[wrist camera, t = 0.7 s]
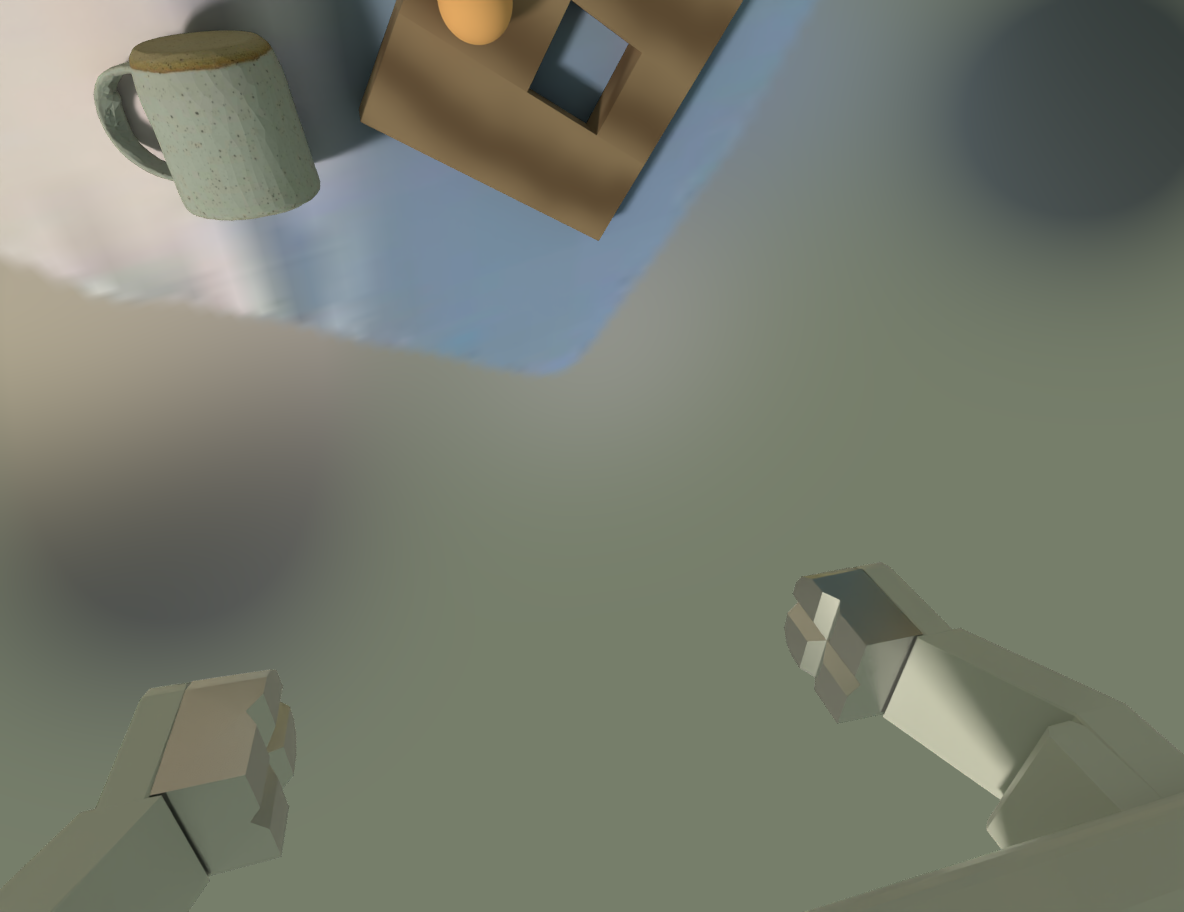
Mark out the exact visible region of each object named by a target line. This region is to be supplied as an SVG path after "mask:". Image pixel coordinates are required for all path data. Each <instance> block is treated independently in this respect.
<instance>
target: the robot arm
mask: <svg viewBox="0 0 1184 912" xmlns="http://www.w3.org/2000/svg"><path fill="white" fill-rule="evenodd" d="M793 595H794V597H795V598H796V600H797V601H798V603H797V604H796V605H795V606H794V607H793V608H792V609H791V610H790V611H789V612H788V613H787V618H786V622H785V627H784V629H785V635H786V642H787V646H788V648H789V650H790V653H791V655H792V657H793V659H794V660H795V662H796V663H797V665H798V666H799V668H801V669H802V670H804V671H806V672H807V673H809V674H811V675H813V676H814V677H815V687H814V689H815V691H816V693H817V694H818V696H819V697H820V699H821V700H822V702H823V703H824V705H825V706H826V708H827V709H828V710H829V712H830V714H831V715H832V716H833V718H834V719H835V721H836V722H837V724H838V723H843V722H848V721H853V720H858V719H862V718H867V717H872V716H877V715H882V714H884V716H883V717H884V718H885V719H887V720H888V721H890V722H891V723H892V724H894V725H896V726H897V727H898V728H900V729H901V730H902V731H904V732H905V733H907V734H908V735H910V736H911V737H912V738H914V739H915V740H917V741H918V742H919V743H921V744H922V745H924V746H925V747H926V748H928V749H929V750H931V751H932V752H934V753H935V754H936V755H938V756H939V757H941V758H942V759H943V760H945V761H946V762H948V763H949V764H951V765H952V766H953V767H955V768H956V769H958V770H959V771H960V772H962V773H963V774H965V775H967V776H968V777H969V778H970V779H972V780H973V781H975V782H976V783H977V784H979V785H980V786H982V787H983V788H985V789H986V790H987V791H989V792H990V793H992V794H993V795H995V796H996V797H998V798H999V799H1000V801H999V803H998V804H997V806H996V807H995V809H994V810H993V812H992V813H991V815H990V817H989V818H988V820H987V828H986V830H987V831H988V832H989V834H990V835H991V836H992V838H993V839H994V840H995V842H996V843H997V844H998V845H999V847H1000V848H1001V849H1000V850H997V851H994V852H991V853H988V854H985V855H981V856H978V857H975V858H972V859H969V860H966V861H963V862H959V863H956V864H953V865H950V866H947V867H944V868H941V869H937V870H934V871H931V872H928V873H925V874H922V875H918V876H915V877H912V878H909V879H906V880H902V881H899V882H896V883H893V884H890V885H887V886H883V887H880V888H877V889H874V890H871V891H868V892H864V893H861V894H858V895H855V896H852V897H849V898H845V899H843V900H839V901H836V902H833V903H830V904H827V905H823V906H821V907H817V908H814V909H811V910H808V911H804V912H1184V754H1183V753H1181V752H1180V751H1179V750H1178V749H1177V748H1176V747H1175V746H1174V745H1172V744H1171V743H1170V742H1169V741H1168V740H1167V739H1165V738H1164V737H1163V736H1162V735H1161V734H1160V733H1159V732H1157V731H1156V730H1155V729H1154V728H1153V727H1152V726H1151V725H1149V724H1148V723H1147V722H1146V721H1145V720H1144V719H1142V718H1141V717H1140V716H1139V715H1138V714H1137V713H1136V712H1134V711H1133V710H1132V709H1131V708H1130V707H1129V706H1128V705H1126V704H1125V703H1123V702H1121V701H1118V700H1116V699H1114V698H1112V697H1110V696H1107V695H1105V694H1103V693H1101V692H1099V691H1096V690H1094V689H1092V688H1090V687H1088V686H1086V685H1083V684H1081V683H1079V682H1077V681H1075V680H1073V679H1070V678H1068V677H1066V676H1064V675H1062V674H1060V673H1057V672H1055V671H1053V670H1051V669H1049V668H1047V667H1044V666H1042V665H1040V664H1038V663H1036V662H1034V661H1031V660H1029V659H1027V658H1025V657H1023V656H1021V655H1018V654H1016V653H1014V652H1012V651H1010V650H1007V649H1005V648H1003V647H1001V646H999V645H996V644H994V643H992V642H990V641H988V640H986V639H984V638H981V637H979V636H977V635H975V634H973V633H970V632H968V631H966V630H964V629H962V628H957V629H952V628H951V627H950V626H949V625H948V624H947V623H946V622H945V621H944V620H943V619H942V618H941V617H940V616H939V615H938V614H937V613H936V612H935V611H934V610H933V609H932V608H931V607H930V606H929V605H928V604H927V603H926V602H925V601H924V600H923V599H922V598H920V596H919V595H918V594H917V593H916V592H915V591H914V590H913V589H912V588H911V587H910V586H909V585H908V584H907V583H906V582H905V581H904V580H903V579H902V578H901V577H900V576H899V575H898V574H897V573H896V572H895V571H894V570H893V569H891V567H889V566H888V565H886V564H884V563H882V562H879V563H874V564H868V565H862V566H856V567H853V568H844V569H839V570H834V571H828V572H823V573H818V574H812V575H807V576H802V577H801V578H800V579H799V580H798V581H797V582H796V584H795V588H794V591H793ZM282 688H283V685H282V683H281V680H280V677H279V675H278V673H277V670H272V669H270V670H263V671H257V672H250V673H243V674H237V675H230V676H223V677H217V678H210V679H203V680H197V681H192V682H188V683H181V684H174V685H168V686H162V687H155V688H150V689H149V690H148V691H147V692H146V694H145V695H144V696H143V697H142V698H141V699H140V701H139V703H138V706H137V708H136V710H135V713H134V715H133V718H132V720H131V723H130V725H129V727H128V730H127V732H126V735H125V737H124V740H123V742H122V744H121V747H120V749H119V752H118V754H117V757H116V759H115V761H114V764H113V766H112V769H111V771H110V774H109V776H108V779H107V781H106V784H105V786H104V788H103V791H102V793H101V795H100V798H99V800H98V803H97V805H96V807H95V809H92V810H88V811H83V812H81V813H79V814H78V815H77V816H76V817H75V818H74V819H73V820H72V821H71V822H70V823H69V824H68V825H67V826H66V827H65V828H64V829H63V830H61V831H60V833H58V834H57V835H56V836H55V837H54V838H53V839H52V840H51V841H50V842H49V843H48V844H47V845H46V846H45V847H44V848H43V849H42V850H41V851H40V852H38V853H37V854H36V855H35V856H34V857H33V858H32V859H31V860H30V861H29V862H28V863H27V864H26V865H25V866H24V867H23V868H22V869H21V870H20V871H18V872H17V873H16V874H15V875H14V877H12V878H11V879H10V880H9V881H8V882H7V883H6V884H5V885H4V886H3V887H2V888H1V889H0V912H189V910H190V909H191V907H192V906H193V904H194V903H195V902H196V900H197V899H198V897H199V896H200V894H201V893H202V891H203V890H204V888H205V887H206V886H207V884H208V883H209V881H210V879H209V877H208V876H212V875H216V874H219V873H223V872H227V871H231V870H234V869H238V868H242V867H245V866H249V865H253V864H257V863H260V862H264V861H268V860H272V859H275V858H279V857H282V850H283V843H284V837H285V830H286V824H287V817H288V810H289V805H288V803H287V800H286V797H285V795H284V793H283V788H284V787H285V786H286V784H287V783H288V782H289V780H290V779H291V778H292V777H293V776H294V769H295V761H296V729H295V723H294V718H293V715H292V712H291V708H290V707H289V706H288V705H286V704H284V703H282V702H280V699H281V693H282Z"/></svg>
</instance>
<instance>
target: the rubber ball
mask: <svg viewBox="0 0 1184 912" xmlns="http://www.w3.org/2000/svg"><path fill="white" fill-rule="evenodd" d="M437 1H438V7H439V10H440V13H441V16H442V18H443V20H444V22H445V24H446V26H447V27H448V28H449V30H450V31H451V32H452V33H453V34H454V35H455V36H456V37H458V38H459V39H460V40H462V41H464V42H466V43H469V44H473V45H485V44H489V43H491V42H493V41H495V40H497V39H498V38H499V37H500V36H501V35H502V34H503V33H504V31H505V30H506V28H507V27H508V25H509V22H510V19H511V15H512V9H513V0H437Z"/></svg>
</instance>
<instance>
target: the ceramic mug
mask: <svg viewBox="0 0 1184 912" xmlns="http://www.w3.org/2000/svg"><path fill="white" fill-rule="evenodd" d="M128 73H129V74H132V77H133V81H134V84H135V88H136V91H137V94H138V96H139V99H140V101H141V104H142V106H143V109H144V111H145V113H146V115H147V117H148V119H149V121H150V123H151V125H152V127H153V130H154V132H155V135H156V137H157V140H158V142H159V145H160V147H161V150H162V153H163V155H164V158H165V160H166V162H165V161H163V160H161V159H159V158H158V157H156V156H155V155H153V154H152V153H150V152H149V151H148V150H147V149H146V148H144V147H143V146H142V145H141V144H140V143H139V141H138V139H137V138H136V137H135V136H134V135H133V132H132V131H131V128H130V126H129V123H128V121H127V118H126V115H125V113H124V110H123V107H122V99H121V97H120V95H119V93H118V92H117V85H118V82H119V80H120V79H121V77H122V76H123V74H128ZM94 101H95V105H96V110H97V114H98V116H99V119H100V121H101V123H102V126H103V128H104V130H105V132H106V133H107V135H108V137H109V138H110V140H111V141H112V142H113V144H114V145H115V146H116V147H117V149H118V150H119V151H120V152H121V153H122V154H123V155H124V156H125V157H126V158H128V159H129V160H130V161H131V162H133V163H134V164H135V165H137V166H138V167H140V168H142V169H143V170H145V171H147V172H149V173H151V174H153V175H156V176H158V177H161V178H164V179H168V180H171V181H174V182H175V185H176V187H177V190H178V193H179V195H180V197H181V199H182V202H183V203H184V205H185V207H186V209H187V210H188V211H189V212H191V213H192V214H194V215H196V216H199V217H203V218H206V219H215V220H231V221H233V220H246V219H254V218H260V217H265V216H270V215H275V214H279V213H283V212H287V211H290V210H292V209H295V208H297V207H299V206H301V205H302V204H304V203H306V202H308V201H310V200H311V199H312V198H313V197H314V196H315V195H316V194H317V193H318V191H319V190H320V180H319V176H318V173H317V170H316V168H315V165H314V162H313V159H312V156H311V153H310V150H309V147H308V144H307V141H306V138H305V135H304V131H303V128H302V125H301V123H300V120H299V118H298V115H297V112H296V109H295V105H294V102H293V99H292V96H291V93H290V90H289V87H288V84H287V81H286V77H285V74H284V72H283V70H282V67H281V65H280V63H279V61H278V59H277V57H276V55H275V53H274V51H273V49H272V48H271V46H270V45H269V43H268V42H267V41H266V40H264V39H263V38H262V37H260V36H259V35H257V34H255V33H252V32H245V31H203V32H193V33H184V34H177V35H170V36H165V37H159V38H155V39H151V40H148V41H145V42H142V43H140V44H138V45H137V46H135V47H134V48H133V49H132V52H131V54H130V57H129V62H126V63H122V64H120V65H117V66H114V67H111V68H109V69H108V70H106V71H105V72H103V73H102V74H101V75H100V76H99V77H98V79H97V82H96V84H95V89H94Z"/></svg>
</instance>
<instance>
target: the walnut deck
mask: <svg viewBox="0 0 1184 912" xmlns="http://www.w3.org/2000/svg"><path fill="white" fill-rule="evenodd" d="M570 1H573V2H574V3H575V4H577V5H578V6H579V7H581V8H582V9H583V10H585V11H586V12H587V13H589V14H590V15H591V16H593V17H594V18H595V19H597V20H598V21H599V22H601V23H602V24H603V25H605V26H606V27H607V28H609V29H610V30H611V31H613V32H614V33H615V34H617V35H618V36H619V37H621V38H622V39H623V40H625V41H626V42H627V43H629V44H628V46H627V48H626V50H625V52H624V54H623V56H622V58H621V59H620V61H619V63H618V65H617V67H616V69H615V71H614V73H613V74H612V76H611V78H610V80H609V82H608V84H607V86H606V88H605V89H604V91H603V93H602V95H601V97H600V99H599V101H598V103H597V104H596V106H595V108H594V110H593V112H592V114H591V116H590V118H589V119H588V121H587V123H584V122H583V121H581V120H580V119H578V118H576V117H575V116H573V115H572V114H570V113H568V112H567V111H565V110H564V109H562V108H560V107H559V106H557V105H556V104H554V103H552V102H551V101H549V100H548V99H546V98H544V97H543V96H541V95H539V94H538V93H536V92H535V91H533V90H531V89H530V88H529V87H530V85H531V83H532V81H533V79H534V77H535V74H536V72H537V70H538V68H539V66H540V64H541V62H542V60H543V58H544V55H545V53H546V51H547V49H548V47H549V45H550V43H551V41H552V39H553V36H554V34H555V32H556V30H557V28H558V26H559V24H560V22H561V20H562V17H563V15H564V13H565V11H566V9H567V7H568V5H569V3H570ZM742 1H743V0H513V9H512V15H511V19H510V22H509V25H508V27H507V28H506V30H505V31H504V33H503V34H502V35H501V36H500V37H499V38H498V39H497V40H495V41H493V42H491V43H489V44H485V45H473V44H469V43H466V42H464V41H462V40H460V39H459V38H458V37H456V36H455V35H454V34H453V33H452V32H451V31H450V30H449V28H448V27H447V26H446V24H445V22H444V20H443V18H442V16H441V13H440V10H439V7H438V1H437V0H396V3H395V6H394V9H393V12H392V15H391V18H390V21H389V23H388V26H387V29H386V32H385V35H384V38H383V41H382V44H381V47H380V49H379V52H378V55H377V58H376V61H375V64H374V67H373V70H372V73H371V75H370V78H369V81H368V84H367V87H366V90H365V93H364V96H363V99H362V102H361V104H360V107H359V114H360V121H361V122H362V123H364V124H366V125H368V126H370V127H372V128H374V129H376V130H378V131H380V132H382V133H384V134H386V135H388V136H390V137H392V138H394V139H396V140H398V141H400V142H402V143H404V144H406V145H408V146H410V147H412V148H414V149H416V150H418V151H420V152H422V153H424V154H426V155H428V156H430V157H432V158H434V159H436V160H438V161H440V162H442V163H444V164H446V165H448V166H450V167H452V168H454V169H456V170H458V171H460V172H462V173H464V174H466V175H468V176H470V177H472V178H474V179H476V180H478V181H480V182H482V183H484V184H486V185H488V186H490V187H492V188H494V189H496V190H498V191H500V192H502V193H504V194H506V195H508V196H510V197H512V198H514V199H516V200H518V201H520V202H522V203H524V204H526V205H528V206H530V207H532V208H534V209H536V210H538V211H540V212H542V213H544V214H546V215H548V216H550V217H552V218H554V219H556V220H558V221H560V222H562V223H564V224H566V225H568V226H570V227H572V228H574V229H576V230H578V231H580V232H582V233H584V234H586V235H588V236H590V237H592V238H594V239H596V240H598V241H599V239H600V238H601V236H602V234H603V233H604V231H605V229H606V228H607V226H608V224H609V223H610V221H611V219H612V218H613V216H614V214H615V213H616V211H617V209H618V208H619V206H620V204H621V203H622V201H623V199H624V198H625V196H626V194H627V193H628V191H629V189H630V188H631V186H632V184H633V183H634V181H635V179H636V178H637V176H638V174H639V173H640V171H641V169H642V168H643V166H644V164H645V163H646V161H647V159H648V158H649V156H650V154H651V153H652V151H653V149H654V148H655V146H656V144H657V143H658V141H659V139H660V138H661V136H662V134H663V133H664V131H665V129H666V128H667V126H668V124H669V123H670V121H671V119H672V118H673V116H674V114H675V113H676V111H677V109H678V108H679V106H680V104H681V103H682V101H683V99H684V98H685V96H686V94H687V93H688V91H689V89H690V88H691V86H692V84H693V83H694V81H695V79H696V78H697V76H698V74H699V73H700V71H701V69H702V68H703V66H704V65H705V63H706V61H707V60H708V58H709V56H710V55H711V53H712V51H713V50H714V48H715V46H716V45H717V43H718V41H719V40H720V38H721V36H722V35H723V33H724V31H725V30H726V28H727V26H728V25H729V23H730V21H731V20H732V18H733V16H734V15H735V13H736V11H737V10H738V8H739V6H740V5H741V3H742Z"/></svg>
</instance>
